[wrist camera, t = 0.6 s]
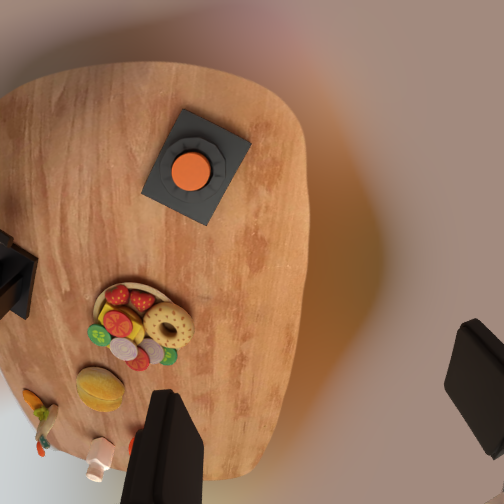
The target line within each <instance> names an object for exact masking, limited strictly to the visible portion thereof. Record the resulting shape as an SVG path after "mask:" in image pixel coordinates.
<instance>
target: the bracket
mask: <svg viewBox="0 0 504 504" xmlns="http://www.w3.org/2000/svg"><path fill="white" fill-rule="evenodd" d="M37 263H38V258H36V257H34V256H33V255H31V254H30V253H28V252H26V251H25V250H23V249H21V248H20V247H18V246H17V245H15V244H12V245H11V247H10V248H7V247H5V246H4V245H2V244H1V243H0V320H1V319H2V318H3V317H4V316H5V314H6V313H7V312H8V311H9V310H11V311H12V312H14V313H15V314H17V315H18V316H20V317H21V318H23V319H25V320H26V319H27V318H28V317H29V311H30V304H31V297H32V291H33V284H34V279H35V273H36V268H37Z"/></svg>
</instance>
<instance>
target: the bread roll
mask: <svg viewBox="0 0 504 504" xmlns="http://www.w3.org/2000/svg"><path fill="white" fill-rule="evenodd" d="M76 381H77V392H78V394H79V397H80V398H81V400H82V401H83V402H84V403H85V404H86V405H87V406H88V407H90V408H92V409H94V410H97V411H102V412H110V411H113V410H116V409H117V408H118V407H119V406H120V404H121V402H122V395H123V394H124V385H123V384H122V383H121V382H120V380H119V379H117V378H116V377H115V376H114V375H113V374H112V373H111V372H110V371H108V370H106V369H103V368H99V367H88V368H85V369H83V370H82V371H81V372H80V373H79V374H78V375H77V379H76Z"/></svg>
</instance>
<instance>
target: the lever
mask: <svg viewBox="0 0 504 504" xmlns="http://www.w3.org/2000/svg"><path fill="white" fill-rule="evenodd" d="M13 240H14V238H13V237H12V236H10V235H9V234H7V233H6V232H4V231H3V230H1V229H0V243H1V244H2V245H4V246H5V247H7V248H10V247H11V245H12V244H13Z"/></svg>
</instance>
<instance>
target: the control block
mask: <svg viewBox="0 0 504 504" xmlns="http://www.w3.org/2000/svg"><path fill="white" fill-rule="evenodd" d="M251 145H252V143H250V142H248V141H246V140H244V139H243V138H241V137H239V136H237V135H235V134H233V133H231V132H229V131H227V130H225V129H224V128H222V127H220V126H218V125H216V124H214V123H212V122H210V121H208V120H206V119H204V118H202V117H200V116H198V115H196V114H194V113H191V112H189V111H187V110H185V109H182V111H181V113H180V115H179V117H178V118H177V120H176V122H175V124H174V126H173V128H172V130H171V132H170V134H169V136H168V138H167V140H166V141H165V143H164V145H163V147H162V149H161V151H160V154H159V156H158V158H157V160H156V162H155V164H154V166H153V168H152V170H151V172H150V174H149V177H148V179H147V181H146V183H145V185H144V188H143V190H142V192H141V194H143V195H145V196H147V197H149V198H151V199H153V200H155V201H157V202H159V203H161V204H163V205H165V206H167V207H169V208H171V209H173V210H175V211H177V212H179V213H181V214H183V215H185V216H187V217H189V218H191V219H193V220H195V221H197V222H199V223H201V224H203V225H205V226H207V224H208V222H209V220H210V219H211V217H212V215H213V213H214V211H215V209H216V207H217V206H218V204H219V202H220V200H221V198H222V196H223V195H224V193H225V191H226V189H227V187H228V185H229V184H230V182H231V180H232V178H233V176H234V175H235V173H236V171H237V169H238V167H239V166H240V164H241V162H242V160H243V159H244V157H245V155H246V153H247V152H248V150H249V148H250V146H251ZM188 152H197V153H200V154H202V155H204V156H205V157H206V158H207V160H208V161H209V163H210V167H211V172H210V176H209V178H208V180H207V182H206V183H205V185H204V186H203V187H201V188H200V189H197V190H194V191H187V190H183V189H181V188H180V187H178V186H177V185H176V184H175V182H174V180H173V178H172V166H173V164H174V162H175V161H176V159H177V158H179V157H180V156H182V155H183V154H185V153H188Z"/></svg>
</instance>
